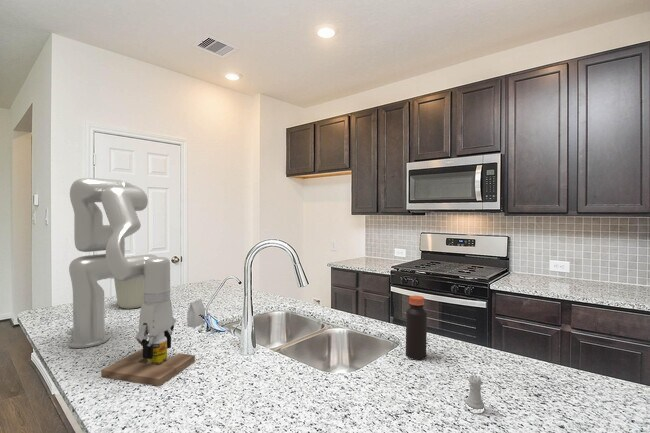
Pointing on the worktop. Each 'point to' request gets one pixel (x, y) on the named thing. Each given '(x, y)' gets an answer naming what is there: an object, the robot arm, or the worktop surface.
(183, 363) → the notched board
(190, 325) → the tea bag
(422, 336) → the vinegar
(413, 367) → the worktop surface
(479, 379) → the rook chess piece
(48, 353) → the worktop surface
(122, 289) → the canister
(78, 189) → the robot arm
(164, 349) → the supplement bottle
